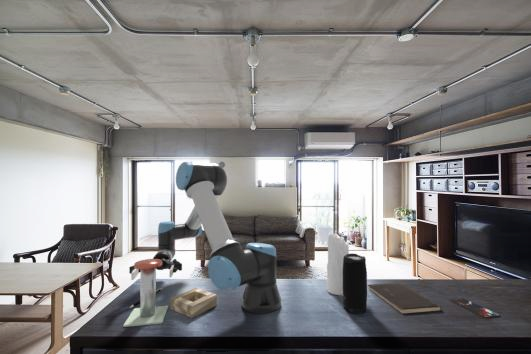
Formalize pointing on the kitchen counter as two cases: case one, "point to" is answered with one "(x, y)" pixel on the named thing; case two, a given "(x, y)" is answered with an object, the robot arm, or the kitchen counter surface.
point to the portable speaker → (354, 283)
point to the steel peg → (147, 285)
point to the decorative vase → (335, 263)
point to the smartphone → (474, 308)
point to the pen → (139, 301)
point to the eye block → (193, 302)
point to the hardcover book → (403, 298)
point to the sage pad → (155, 319)
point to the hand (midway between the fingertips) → (151, 275)
